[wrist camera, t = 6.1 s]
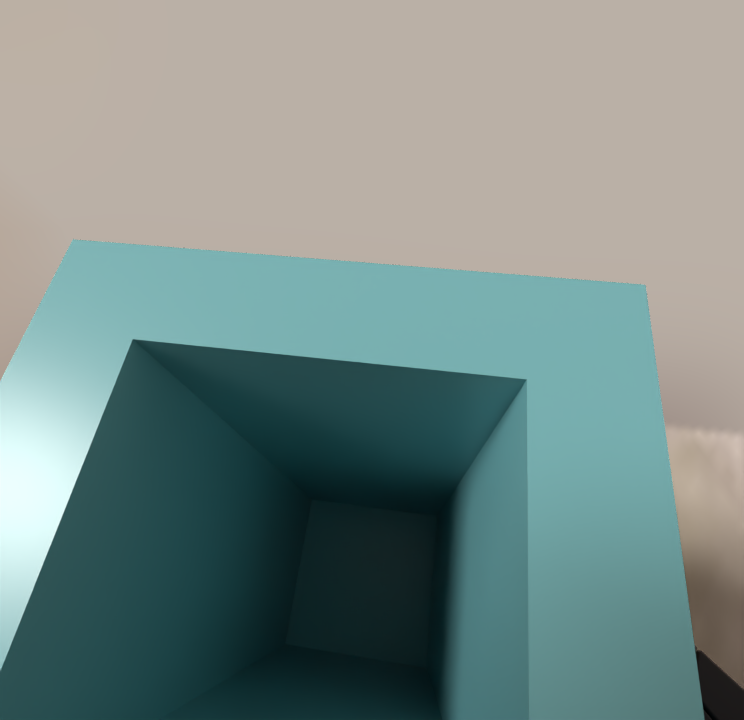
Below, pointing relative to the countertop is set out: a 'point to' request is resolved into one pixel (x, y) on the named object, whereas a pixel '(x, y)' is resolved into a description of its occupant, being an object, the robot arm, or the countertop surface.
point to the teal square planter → (336, 496)
